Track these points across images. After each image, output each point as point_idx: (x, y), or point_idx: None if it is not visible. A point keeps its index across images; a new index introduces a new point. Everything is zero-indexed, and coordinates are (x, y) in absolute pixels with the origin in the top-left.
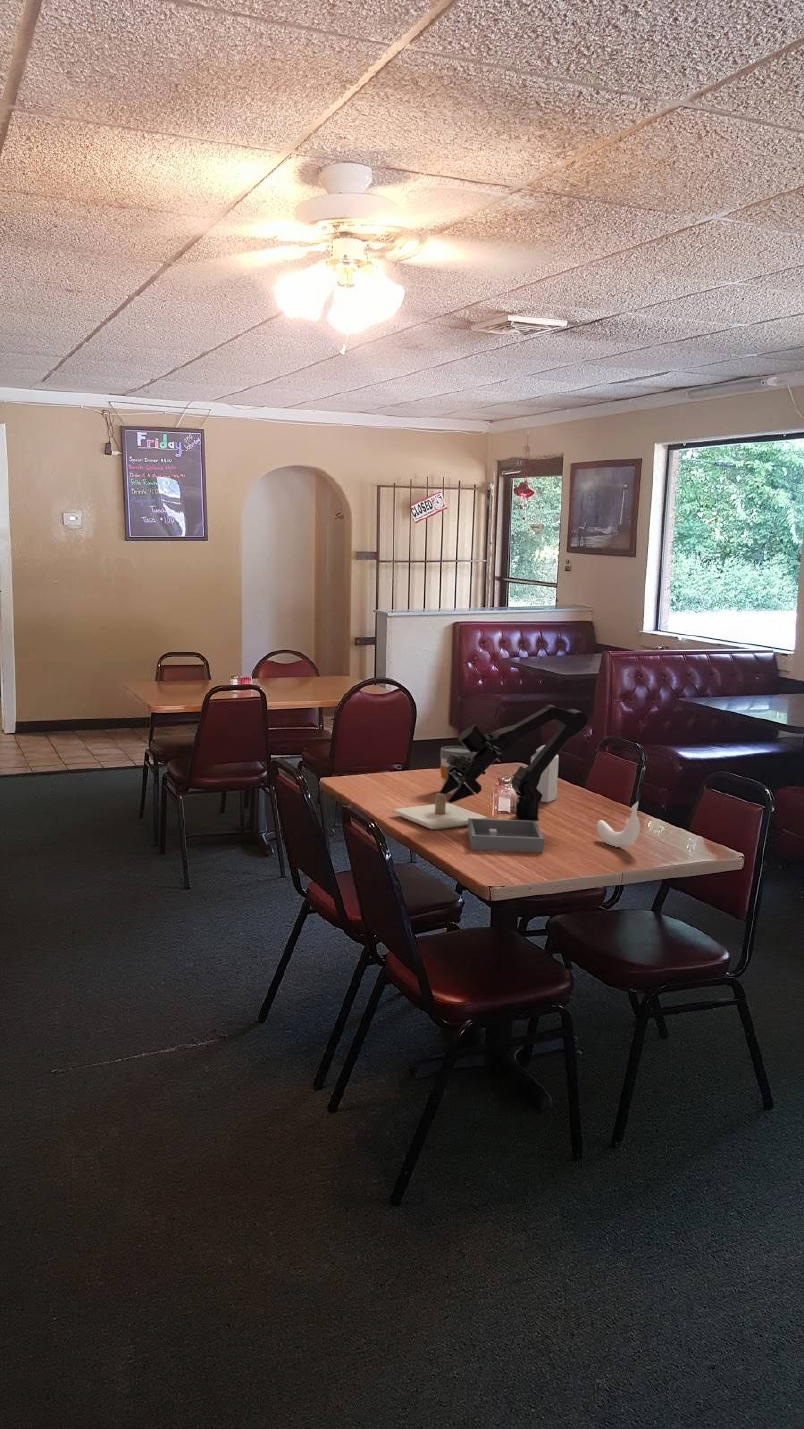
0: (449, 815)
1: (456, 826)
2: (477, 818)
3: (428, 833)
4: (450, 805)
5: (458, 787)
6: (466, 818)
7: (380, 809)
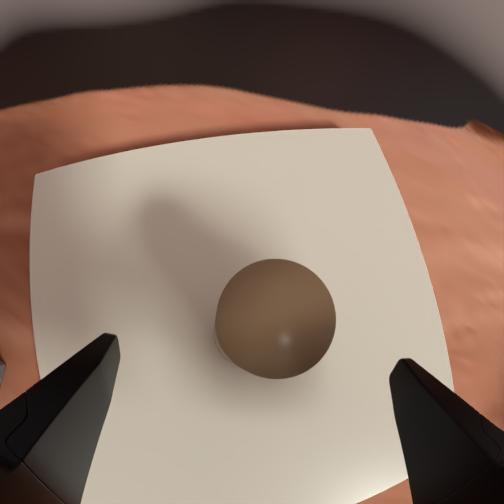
0: (177, 370)
1: None
2: None
3: None
4: None
5: (3, 452)
6: None
7: (447, 159)
